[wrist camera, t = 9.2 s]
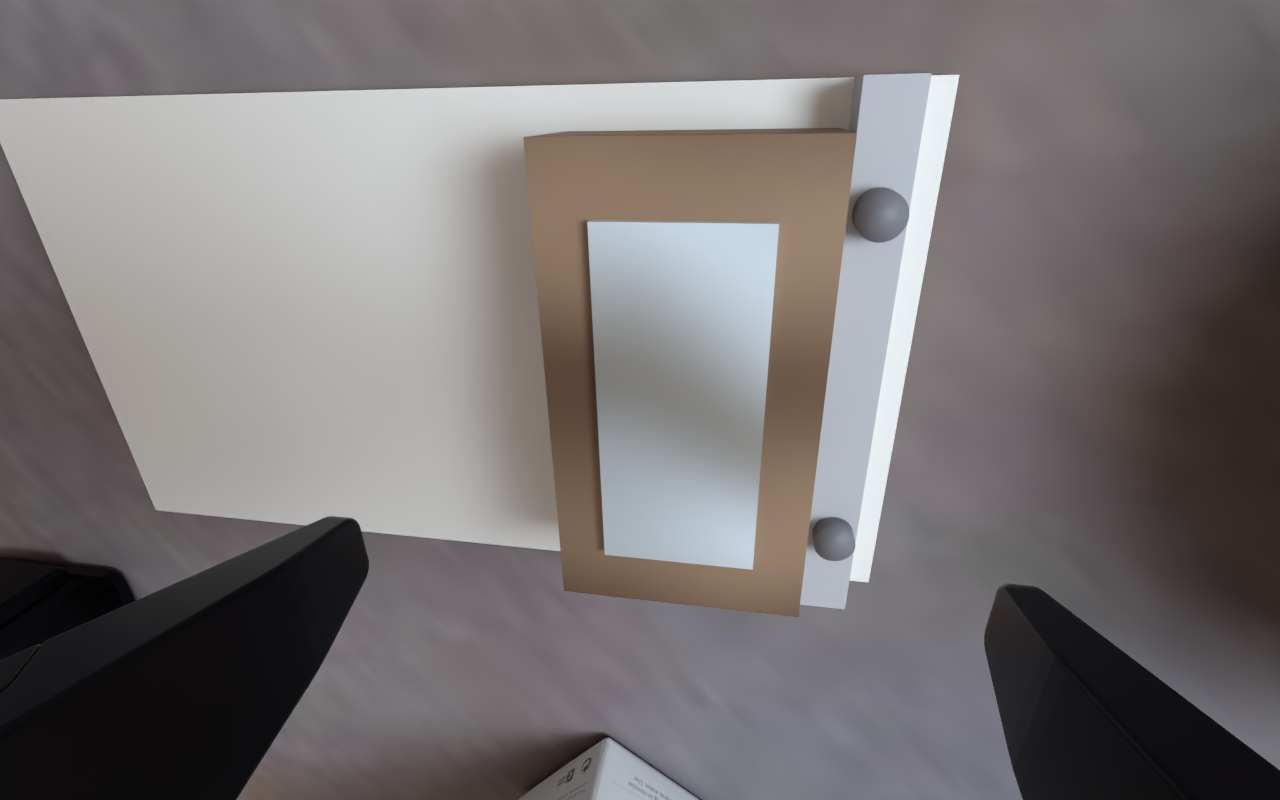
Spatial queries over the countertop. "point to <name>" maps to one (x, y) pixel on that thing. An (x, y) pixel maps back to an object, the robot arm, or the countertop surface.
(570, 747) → the countertop surface
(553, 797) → the skincare box
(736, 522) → the frame
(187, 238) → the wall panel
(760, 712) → the countertop surface
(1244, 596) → the countertop surface
